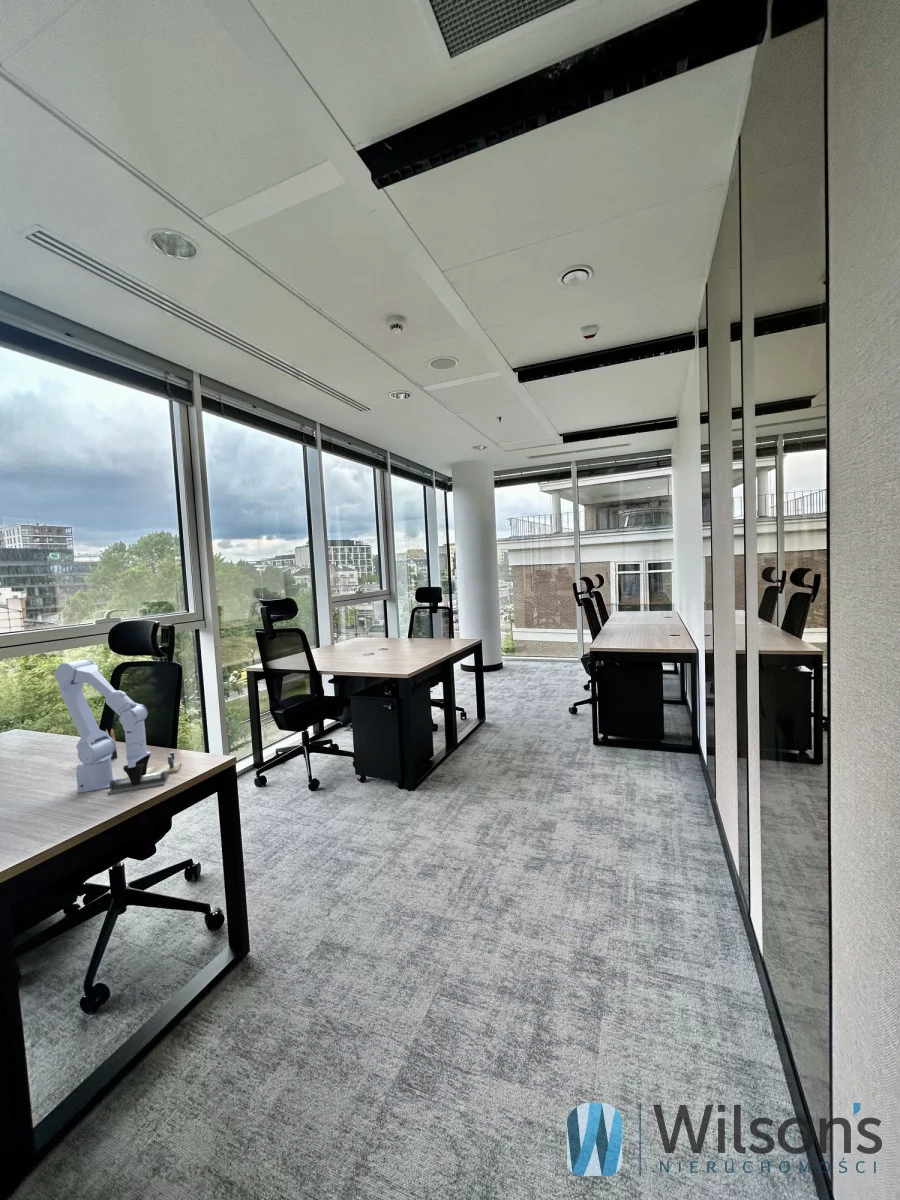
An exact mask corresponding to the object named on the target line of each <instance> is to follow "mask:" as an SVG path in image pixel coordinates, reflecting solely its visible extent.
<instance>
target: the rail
mask: <svg viewBox="0 0 900 1200" xmlns="http://www.w3.org/2000/svg"><path fill="white" fill-rule="evenodd" d="M166 775H167V774H166V771H163V772H160V773H154V774H148V775H142V776H141V781H140V783H144V782H150V781H156V780H162V779H163V780H165V779H166ZM123 778H124V777H123ZM123 778H120V779H119V778H117V780H110V788H109V790H111V789H112V788H114V787H120V786H126V785H132V784H131V781H130V779H129V778H124V779H123Z"/></svg>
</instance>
